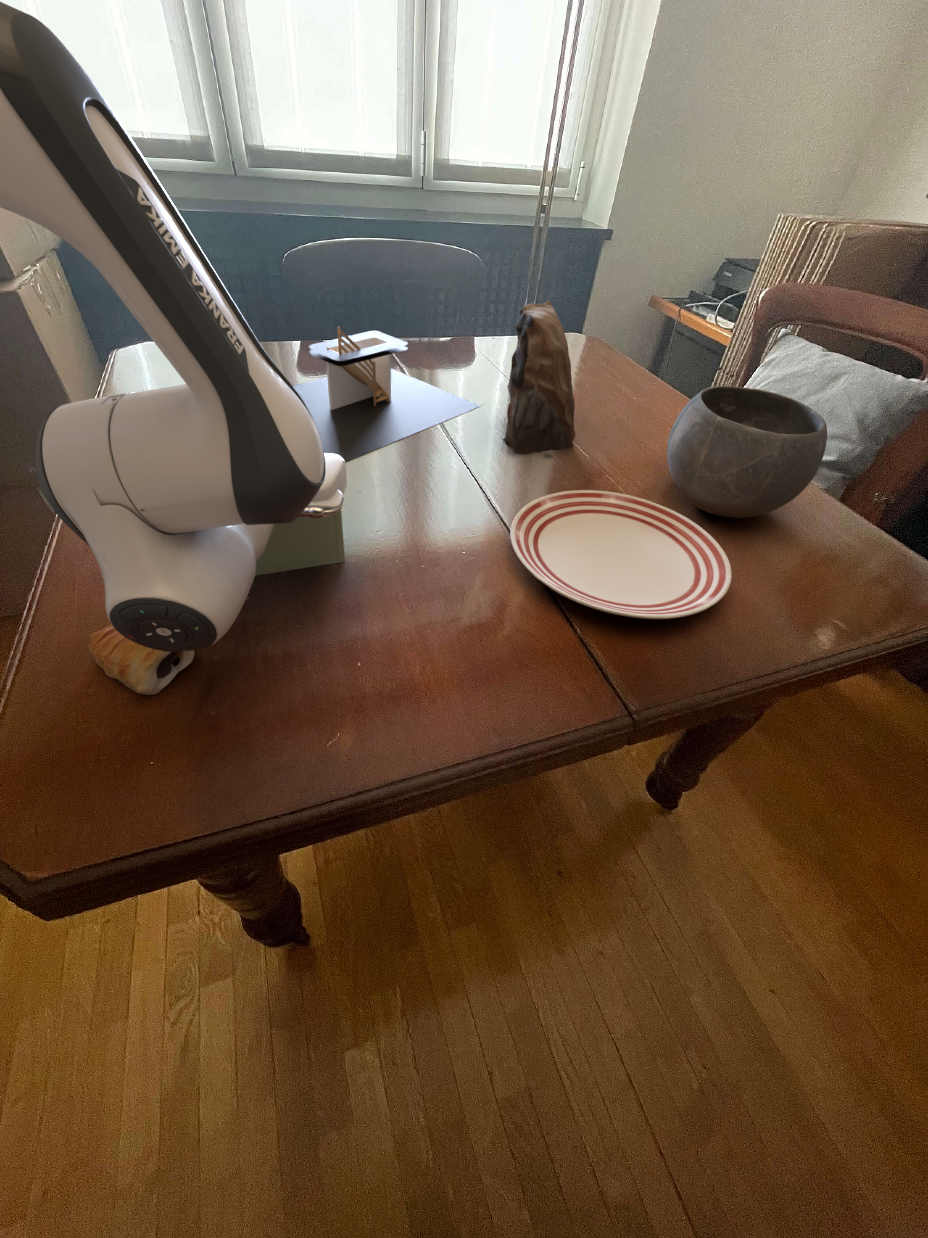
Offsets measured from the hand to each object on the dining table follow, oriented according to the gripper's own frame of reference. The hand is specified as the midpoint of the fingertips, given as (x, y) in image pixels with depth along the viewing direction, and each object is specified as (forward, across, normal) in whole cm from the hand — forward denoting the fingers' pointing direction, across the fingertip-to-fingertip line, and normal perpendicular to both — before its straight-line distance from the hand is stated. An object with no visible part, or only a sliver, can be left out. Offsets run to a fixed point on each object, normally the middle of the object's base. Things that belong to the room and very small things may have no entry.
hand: (260, 441), depth 60 cm
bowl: (+14, -64, +12) cm, 66 cm away
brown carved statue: (+31, -37, +12) cm, 50 cm away
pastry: (-23, +7, +12) cm, 27 cm away
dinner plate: (-3, -43, +12) cm, 45 cm away
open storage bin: (-1, 0, +12) cm, 12 cm away
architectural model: (+41, -6, +12) cm, 43 cm away
